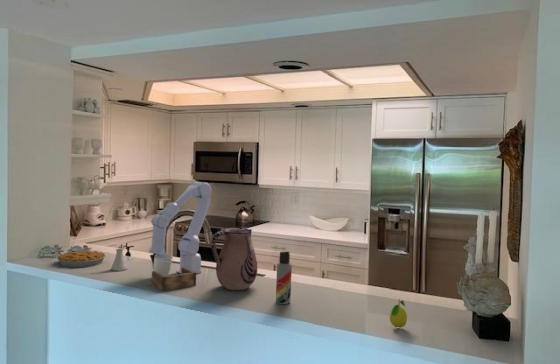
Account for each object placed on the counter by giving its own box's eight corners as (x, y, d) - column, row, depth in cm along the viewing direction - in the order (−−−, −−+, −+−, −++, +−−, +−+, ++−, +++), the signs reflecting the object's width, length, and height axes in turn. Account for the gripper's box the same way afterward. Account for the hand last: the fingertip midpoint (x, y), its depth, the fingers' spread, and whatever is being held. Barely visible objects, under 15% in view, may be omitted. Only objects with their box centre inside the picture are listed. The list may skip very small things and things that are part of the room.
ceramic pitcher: (265, 288, 185) (267, 230, 184) (227, 298, 169) (229, 235, 168) (238, 280, 197) (239, 225, 196) (200, 288, 181) (202, 229, 180)
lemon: (403, 325, 147) (405, 296, 147) (411, 331, 141) (412, 301, 141) (385, 325, 146) (386, 296, 146) (391, 332, 140) (392, 301, 140)
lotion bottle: (279, 305, 163) (281, 253, 162) (273, 301, 168) (274, 250, 167) (293, 303, 166) (294, 252, 165) (286, 299, 171) (287, 249, 170)
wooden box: (183, 279, 195) (184, 267, 194) (195, 285, 186) (196, 272, 186) (151, 284, 185) (152, 271, 185) (162, 290, 176) (163, 277, 176)
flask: (130, 269, 209) (130, 248, 209) (117, 272, 203) (118, 251, 203) (120, 267, 213) (121, 247, 213) (107, 269, 207) (108, 249, 207)
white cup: (159, 283, 190) (163, 263, 187) (147, 275, 193) (150, 255, 191) (172, 277, 197) (176, 258, 194) (160, 270, 200) (163, 251, 197)
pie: (114, 261, 225) (114, 252, 225) (80, 270, 205) (80, 259, 205) (82, 256, 233) (83, 247, 233) (47, 264, 213) (47, 254, 213)
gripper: (144, 238, 199) (141, 267, 200) (156, 243, 188) (153, 274, 188) (158, 238, 204) (156, 266, 204) (171, 243, 192) (168, 273, 193)
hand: (155, 270), depth 196 cm, fingers closed, pressing on white cup
